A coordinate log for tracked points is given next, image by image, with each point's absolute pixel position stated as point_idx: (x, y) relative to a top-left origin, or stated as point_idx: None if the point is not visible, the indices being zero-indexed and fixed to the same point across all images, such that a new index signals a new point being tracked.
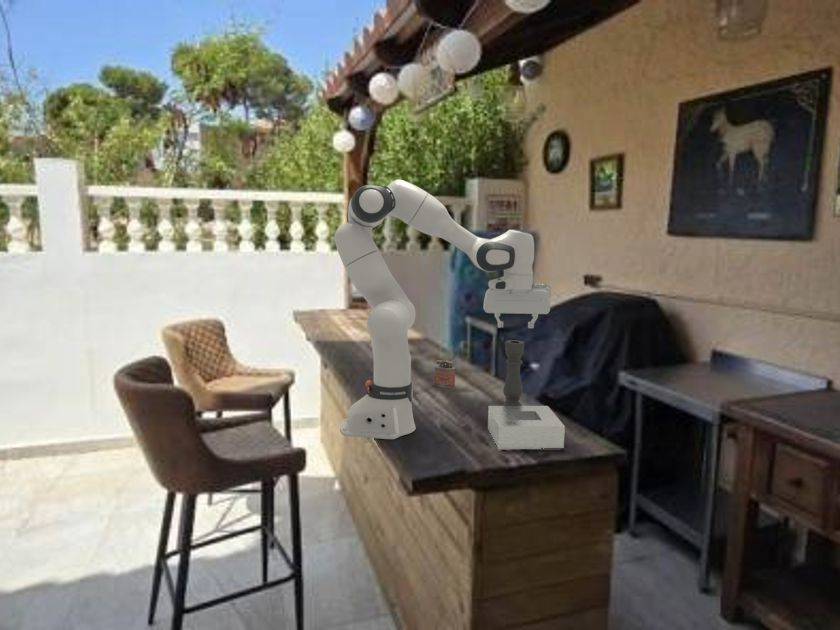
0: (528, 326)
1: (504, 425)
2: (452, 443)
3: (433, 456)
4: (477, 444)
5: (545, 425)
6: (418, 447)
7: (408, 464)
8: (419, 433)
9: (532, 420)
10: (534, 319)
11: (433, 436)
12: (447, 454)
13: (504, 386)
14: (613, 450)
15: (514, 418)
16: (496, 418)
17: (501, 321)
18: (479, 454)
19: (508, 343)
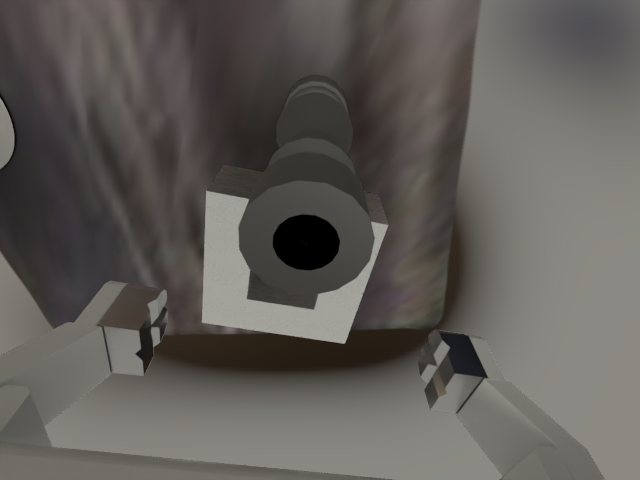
0: (432, 349)
1: (215, 320)
2: (123, 235)
3: (85, 283)
4: (179, 250)
5: (305, 334)
6: (47, 241)
7: (42, 302)
8: (33, 162)
9: (290, 308)
10: (490, 457)
11: (74, 189)
12: (113, 280)
13: (277, 134)
14: (433, 319)
15: None
16: (206, 282)
17: (124, 335)
18: (176, 291)
19: (248, 261)
